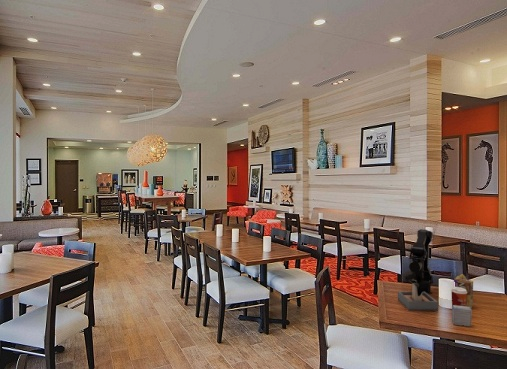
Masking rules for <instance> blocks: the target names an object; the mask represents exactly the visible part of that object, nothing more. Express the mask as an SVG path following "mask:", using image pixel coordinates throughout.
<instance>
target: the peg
mask: <svg viewBox="0 0 507 369" xmlns="http://www.w3.org/2000/svg"><path fill="white" fill-rule="evenodd" d="M414 284H416V283H411V285H412V286H411V287H412V289H411V292H412V299H413V300H414V301H422V293H421V295H420V296H418V294H417V287H416V286H415V285H414Z"/></svg>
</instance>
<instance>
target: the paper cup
mask: <svg viewBox="0 0 507 369" xmlns="http://www.w3.org/2000/svg"><path fill="white" fill-rule="evenodd" d="M450 291H451V306H452V305H456V306H465V304H466V294H467V291H466V289H464V288H461V287H454V286H452V287H451V289H450Z"/></svg>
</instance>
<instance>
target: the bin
mask: <svg viewBox="0 0 507 369" xmlns="http://www.w3.org/2000/svg"><path fill="white" fill-rule="evenodd" d="M397 300H398V302H400V304H402V306H403V307H404V308H405V309H406V310H407V311H413V312H414V311H418V312H421V311H423V312H424V311H425V312H426V311H427V312H429V311H430V312H432V311H433V312H437V311H439V301H438V300H436V299H435V298H434V297H432V296H431V295H430V294H429V293H426V292H422V301H414V300H413V299H412V291H403V290H402V291H397Z"/></svg>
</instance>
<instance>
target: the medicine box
mask: <svg viewBox="0 0 507 369" xmlns="http://www.w3.org/2000/svg"><path fill="white" fill-rule="evenodd" d="M472 311H473V310H472V308H469V307H465V306H456V305H452V304H451V323H452V324H453V325H454V324H455V326H462V325H464V327H472V313H473V312H472Z"/></svg>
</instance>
